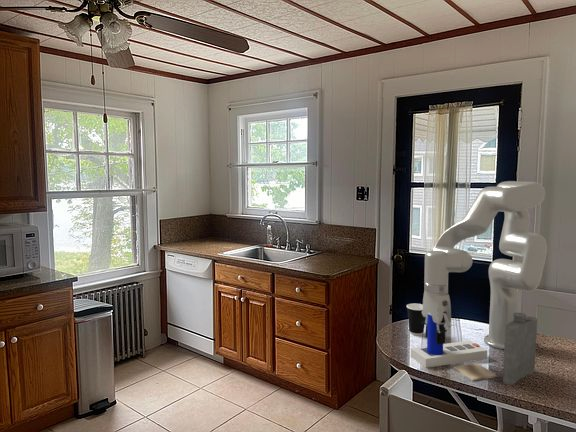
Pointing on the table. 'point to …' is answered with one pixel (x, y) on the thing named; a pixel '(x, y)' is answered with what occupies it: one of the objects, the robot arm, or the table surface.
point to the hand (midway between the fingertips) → (435, 339)
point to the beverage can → (433, 338)
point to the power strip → (450, 354)
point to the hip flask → (519, 348)
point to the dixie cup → (415, 319)
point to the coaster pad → (475, 371)
